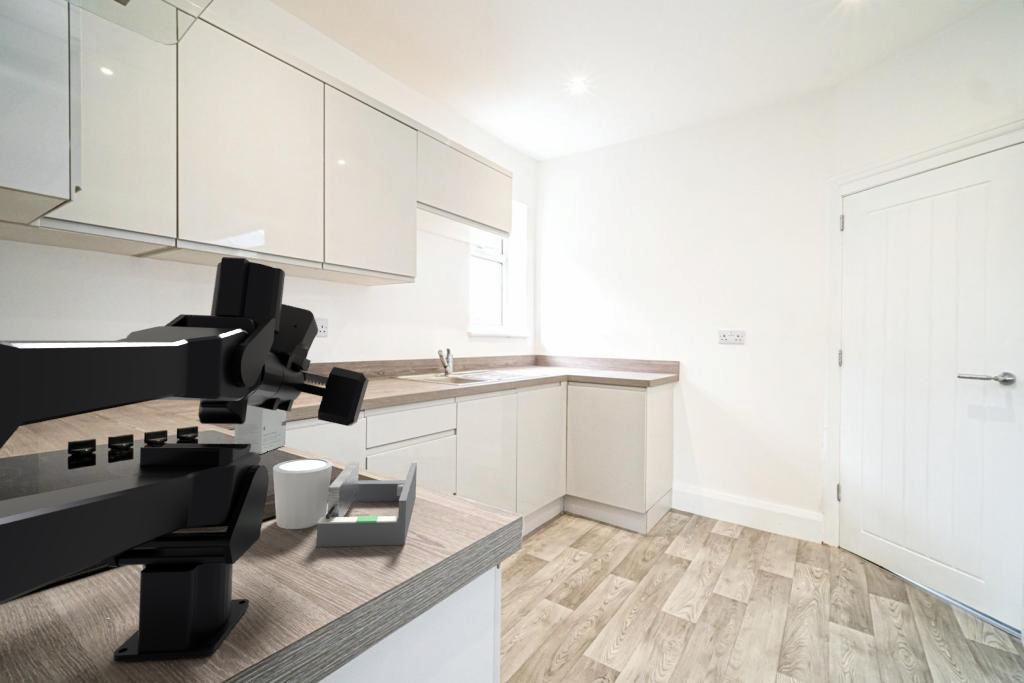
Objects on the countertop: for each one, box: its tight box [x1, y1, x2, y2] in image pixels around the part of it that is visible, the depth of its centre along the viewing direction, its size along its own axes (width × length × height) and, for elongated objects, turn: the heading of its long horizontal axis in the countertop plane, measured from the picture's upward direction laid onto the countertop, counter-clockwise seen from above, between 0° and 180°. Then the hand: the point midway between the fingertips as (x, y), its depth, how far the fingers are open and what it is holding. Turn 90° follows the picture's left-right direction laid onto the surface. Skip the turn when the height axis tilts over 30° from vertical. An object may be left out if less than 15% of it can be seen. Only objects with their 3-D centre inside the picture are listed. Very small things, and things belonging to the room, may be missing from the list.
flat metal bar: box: [326, 461, 360, 519], centre depth 56 cm, size 13×1×4 cm, turn 8°
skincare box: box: [233, 405, 287, 455], centre depth 91 cm, size 8×6×15 cm
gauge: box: [316, 462, 418, 548], centre depth 58 cm, size 16×10×5 cm, turn 8°
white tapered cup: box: [272, 458, 333, 530], centre depth 57 cm, size 7×7×7 cm
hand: (303, 388), depth 60 cm, fingers open, 9 cm apart
